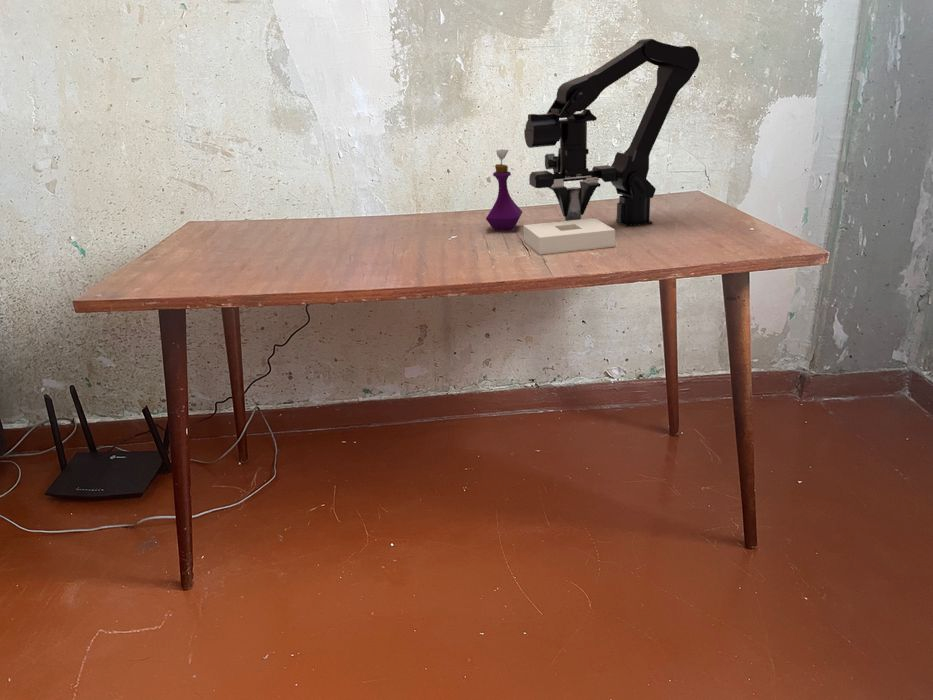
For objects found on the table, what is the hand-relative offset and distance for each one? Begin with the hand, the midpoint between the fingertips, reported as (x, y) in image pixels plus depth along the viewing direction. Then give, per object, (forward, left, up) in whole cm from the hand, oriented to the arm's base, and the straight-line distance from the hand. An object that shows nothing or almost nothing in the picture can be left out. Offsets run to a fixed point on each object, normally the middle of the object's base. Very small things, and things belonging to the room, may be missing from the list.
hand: (573, 215), depth 159 cm
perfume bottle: (+14, -8, -4) cm, 17 cm away
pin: (0, 0, -3) cm, 3 cm away
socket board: (+5, +11, -3) cm, 13 cm away
